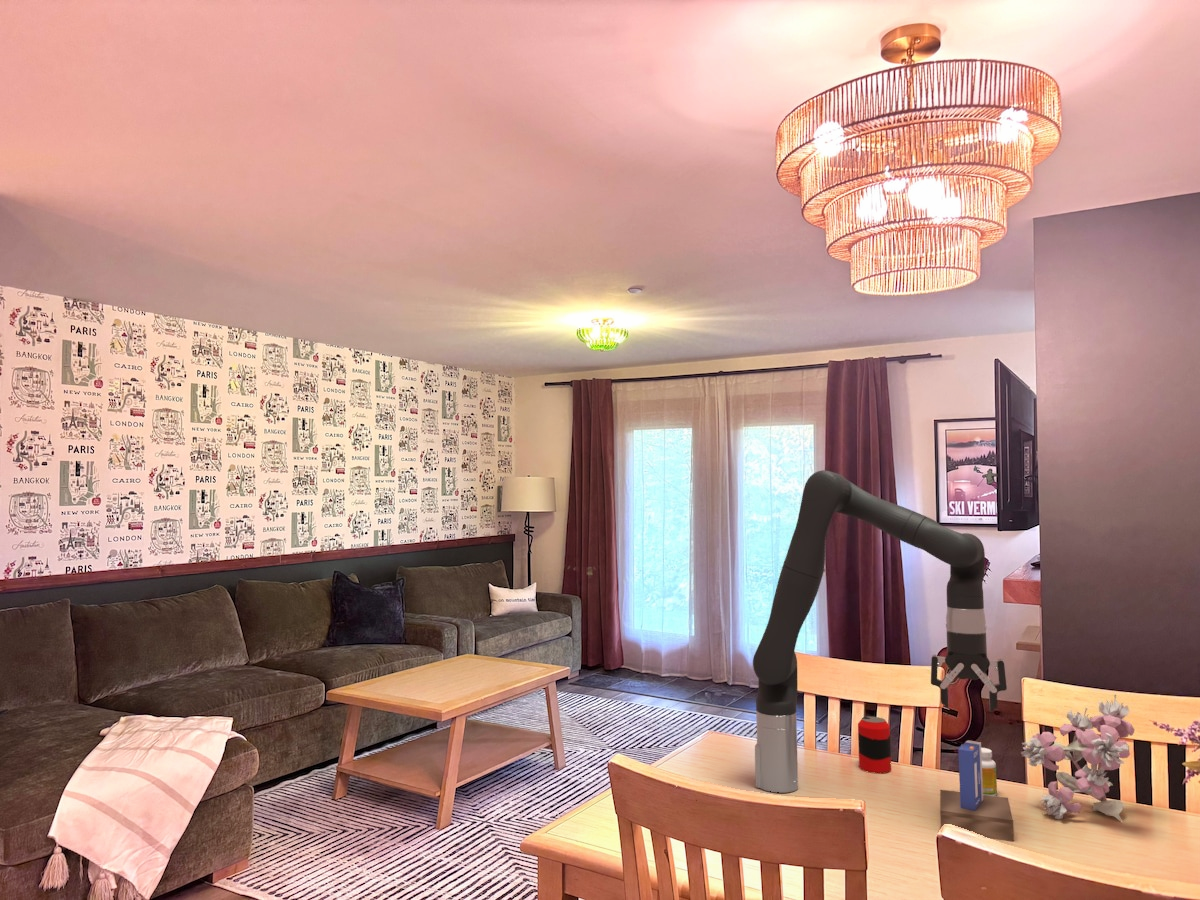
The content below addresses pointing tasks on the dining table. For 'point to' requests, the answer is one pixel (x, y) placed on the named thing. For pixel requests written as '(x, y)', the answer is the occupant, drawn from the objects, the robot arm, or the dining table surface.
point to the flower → (1093, 752)
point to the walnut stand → (978, 815)
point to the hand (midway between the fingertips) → (968, 708)
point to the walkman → (970, 775)
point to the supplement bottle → (988, 773)
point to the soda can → (874, 745)
